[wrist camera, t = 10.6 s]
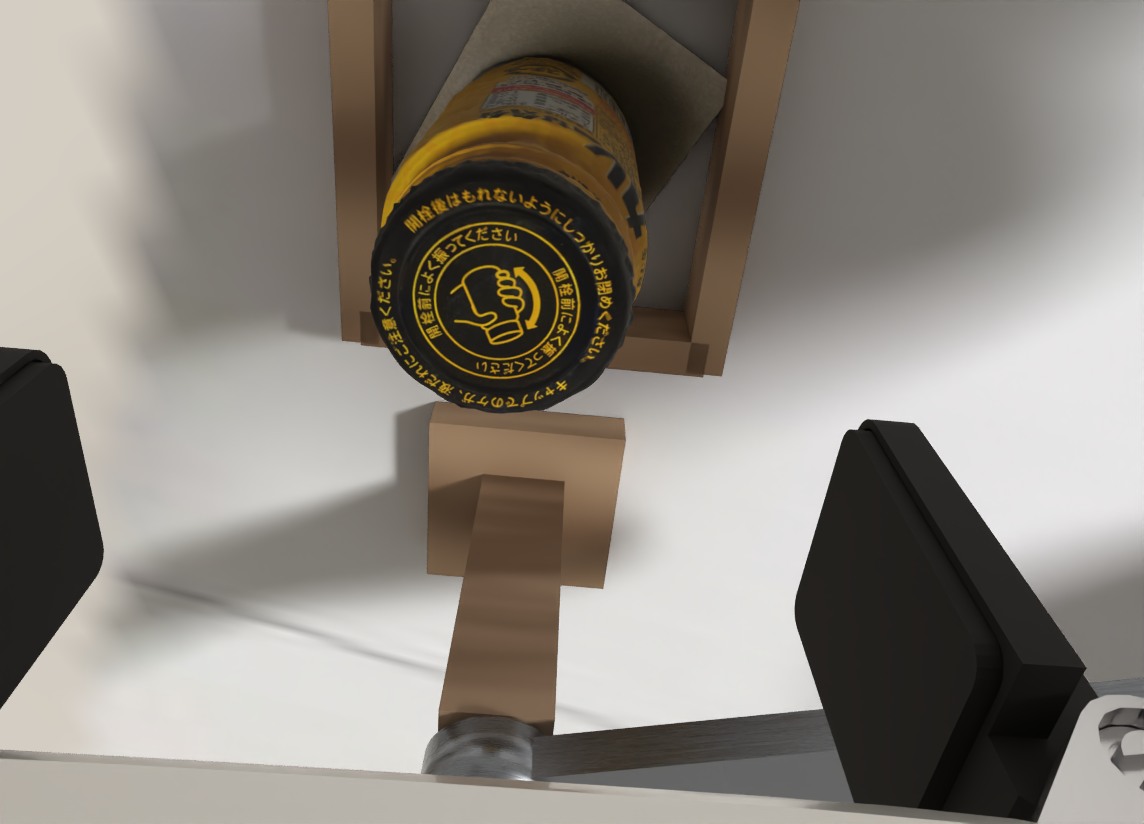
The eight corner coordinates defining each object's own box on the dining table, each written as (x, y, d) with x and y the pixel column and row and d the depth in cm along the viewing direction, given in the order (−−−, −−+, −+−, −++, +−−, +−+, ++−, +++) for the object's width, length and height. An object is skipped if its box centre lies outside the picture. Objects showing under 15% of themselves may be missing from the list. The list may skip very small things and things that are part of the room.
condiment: (389, 183, 27) (263, 345, 17) (530, -70, 24) (479, -60, 13) (578, 302, 29) (569, 513, 19) (735, 84, 26) (831, 199, 15)
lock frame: (346, -143, 23) (140, -193, 13) (798, -92, 24) (969, -98, 13) (366, 543, 35) (270, 817, 24) (667, 569, 35) (701, 850, 25)
